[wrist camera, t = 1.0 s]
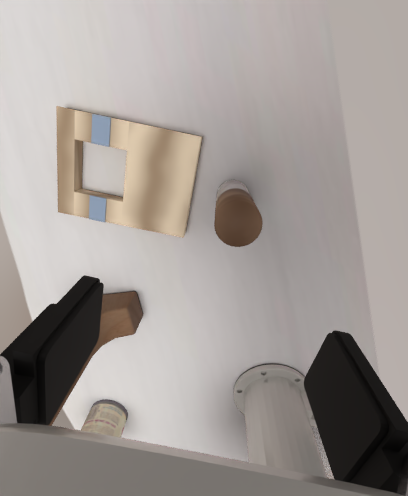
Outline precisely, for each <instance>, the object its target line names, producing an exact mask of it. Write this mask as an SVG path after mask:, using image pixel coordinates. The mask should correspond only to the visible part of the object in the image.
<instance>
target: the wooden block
mask: <svg viewBox="0 0 408 496" xmlns="http://www.w3.org/2000/svg"><path fill="white" fill-rule="evenodd" d="M142 316H143V313H142V310H141V306H140V303H139V299H138V296H137V293H136V292H125V293H115V294H105V295H103V298H102V310H101V322H100V333H99V339H98V341H97V344H96V346H95V347H94V349H93V351H92V352H91V354H90V356H89V358H88V359H87V361H86V363H85V364H84V366H83V368H82V370H81V371H80V373H79V375H78V377H77V378H76V380H75V382H74V383H73V385H72V387H71V389H70V390H69V392H68V394H67V395H66V397H65V399H64V401H63V402H62V404H61V406H60V407H59V409H58V411H57V413H56V414H55V416H54V418H53V420H52V421H51V423H50V424H49V425H48V426H52V424H53V422H54V420H55V419H56V417H57V415H58V414H59V412H60V410H61V409H62V407H63V405H64V404H65V402H66V400H67V398H68V397H69V395H70V393H71V392H72V390H73V388H74V387H75V385H76V383H77V381H78V380H79V378H80V376H81V375H82V373H83V371H84V370H85V368H86V366H87V365H88V363H89V361H90V359H91V358H92V356H93V355H94V354H95V353H96V352H97V351H98V350H99V348H100V347H101V346H102V345H104V344H106V343H107V342H109V341H111V340H113V339H114V338H118V337H123V336H128V335H133V334H134V333H135V332H136V330H137V328H138V325H139V323H140V321H141V319H142Z"/></svg>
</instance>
